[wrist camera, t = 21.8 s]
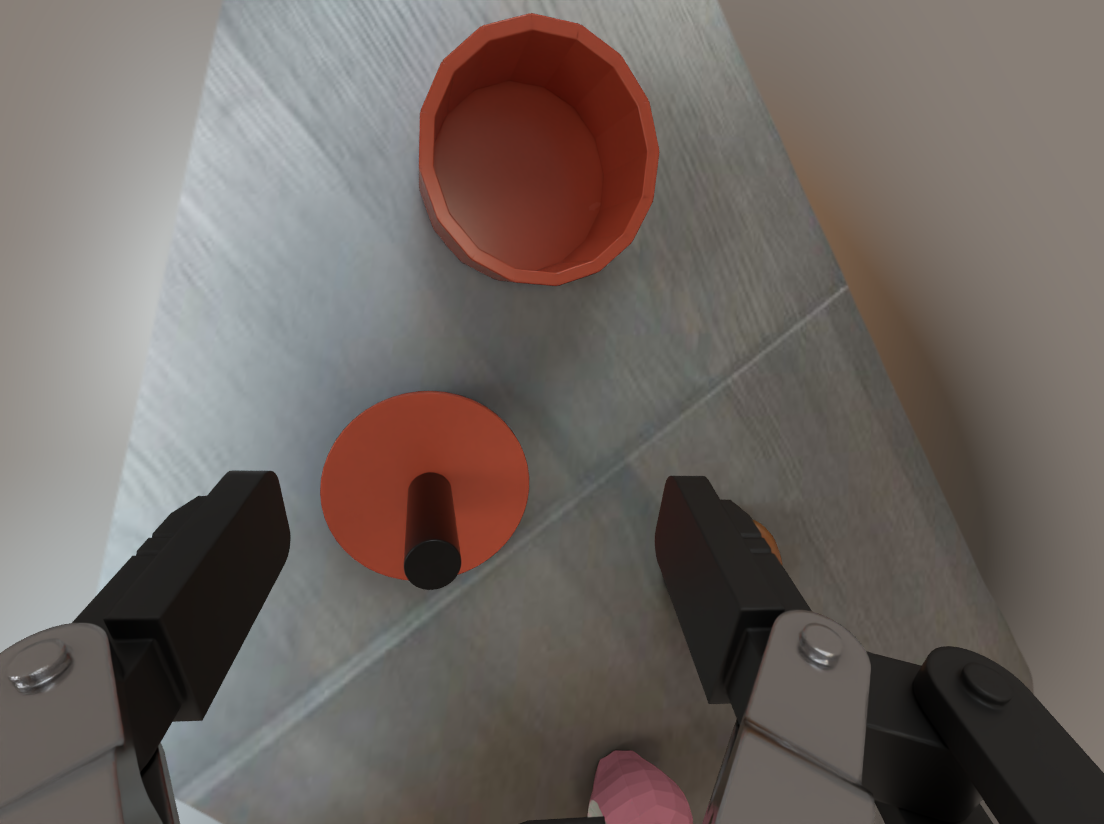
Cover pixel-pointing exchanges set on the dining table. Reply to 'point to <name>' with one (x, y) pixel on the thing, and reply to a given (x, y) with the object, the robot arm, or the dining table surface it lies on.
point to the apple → (636, 793)
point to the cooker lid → (424, 487)
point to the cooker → (536, 151)
